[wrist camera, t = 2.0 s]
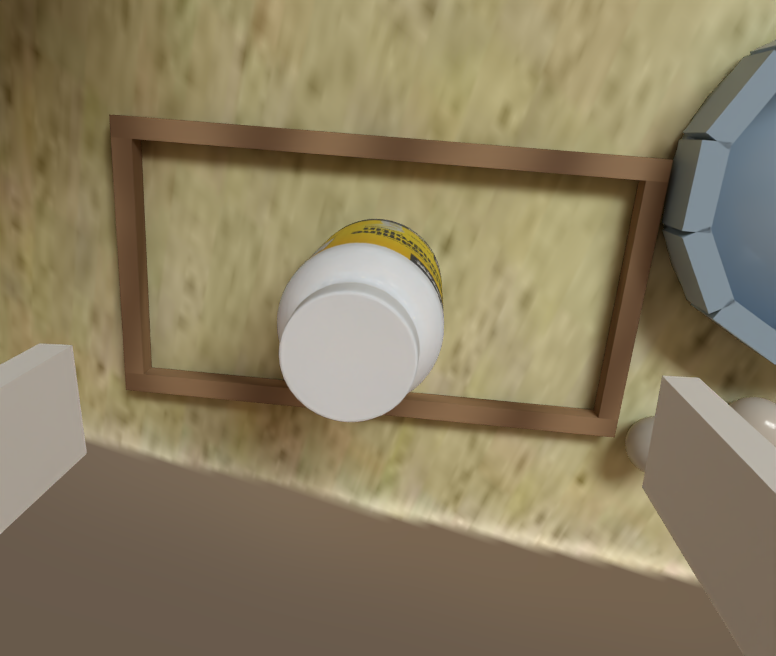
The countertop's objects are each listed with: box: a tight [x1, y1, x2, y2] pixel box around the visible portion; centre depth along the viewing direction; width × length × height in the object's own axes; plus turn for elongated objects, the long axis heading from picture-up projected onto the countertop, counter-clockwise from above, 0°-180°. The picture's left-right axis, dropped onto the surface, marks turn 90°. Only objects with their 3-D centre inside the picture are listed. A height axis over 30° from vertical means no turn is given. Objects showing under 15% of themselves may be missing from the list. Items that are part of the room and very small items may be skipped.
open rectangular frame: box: [109, 115, 673, 437], centre depth 31 cm, size 26×14×1 cm, turn 86°
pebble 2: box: [729, 397, 776, 447], centre depth 31 cm, size 3×3×3 cm
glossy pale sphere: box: [625, 416, 655, 472], centre depth 31 cm, size 3×3×3 cm
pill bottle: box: [277, 219, 444, 422], centre depth 26 cm, size 6×6×12 cm
